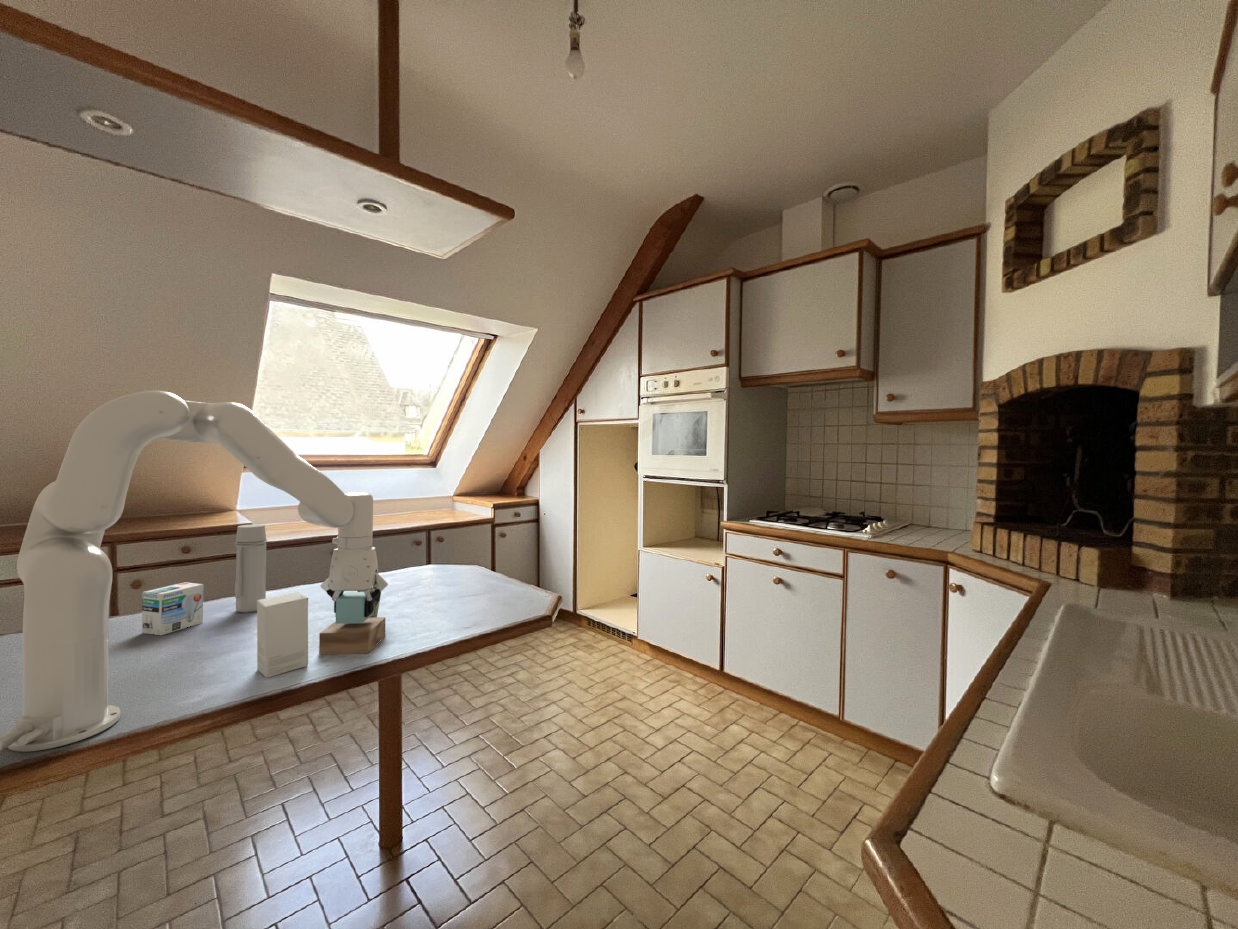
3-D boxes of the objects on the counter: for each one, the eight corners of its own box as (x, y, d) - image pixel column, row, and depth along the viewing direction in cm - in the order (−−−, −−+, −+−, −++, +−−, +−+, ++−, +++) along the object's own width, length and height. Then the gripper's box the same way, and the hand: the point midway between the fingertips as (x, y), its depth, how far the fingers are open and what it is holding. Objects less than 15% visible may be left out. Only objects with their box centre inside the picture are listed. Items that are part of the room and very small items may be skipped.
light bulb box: (160, 636, 124) (161, 593, 123) (140, 633, 125) (140, 591, 125) (204, 622, 134) (205, 583, 134) (184, 620, 135) (185, 581, 135)
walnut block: (368, 653, 116) (368, 632, 116) (319, 654, 115) (319, 633, 115) (385, 636, 127) (385, 617, 127) (340, 637, 126) (340, 617, 126)
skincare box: (298, 658, 113) (300, 591, 112) (309, 667, 108) (310, 597, 108) (254, 670, 106) (255, 598, 106) (264, 679, 102) (265, 605, 102)
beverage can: (347, 624, 135) (348, 581, 135) (371, 617, 142) (372, 576, 141) (362, 629, 132) (362, 584, 132) (386, 621, 139) (386, 579, 138)
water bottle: (247, 605, 149) (248, 523, 149) (272, 606, 149) (273, 524, 149) (222, 615, 140) (223, 528, 140) (248, 616, 140) (249, 528, 139)
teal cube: (361, 623, 119) (362, 598, 118) (335, 623, 118) (336, 598, 118) (371, 615, 125) (372, 591, 124) (346, 615, 124) (347, 592, 124)
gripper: (310, 545, 116) (308, 621, 116) (386, 545, 118) (384, 620, 118) (325, 540, 124) (324, 611, 124) (397, 540, 125) (395, 610, 126)
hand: (354, 614), depth 121 cm, fingers closed on teal cube, 6 cm apart
